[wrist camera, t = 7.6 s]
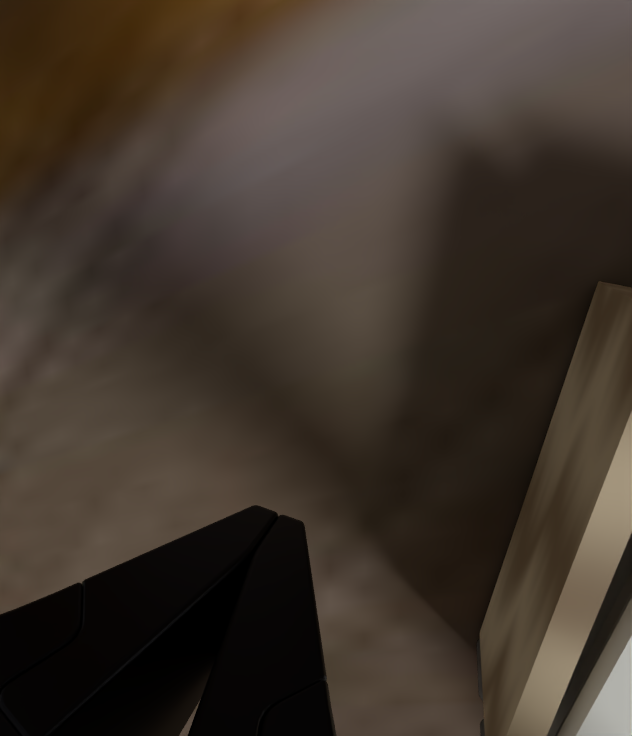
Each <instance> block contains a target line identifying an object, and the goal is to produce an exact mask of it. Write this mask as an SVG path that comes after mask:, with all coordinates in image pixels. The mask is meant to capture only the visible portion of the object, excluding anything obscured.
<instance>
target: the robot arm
mask: <svg viewBox="0 0 632 736" xmlns="http://www.w3.org/2000/svg"><path fill="white" fill-rule="evenodd" d="M326 679H327V677H326V670H325V663H324V656H323V649H322V642H321V636H320V629H319V622H318V615H317V608H316V601H315V594H314V587H313V580H312V573H311V567H310V560H309V553H308V546H307V539H306V532H305V526H304V523H303V522H302V521H300V520H297V519H294V518H291V517H288V516H286V515H280V516H278V514H277V513H276V512H274V511H272V510H269V509H266V508H263V507H261V506H258V505H254V506H251V507H249V508H246V509H244V510H242V511H240V512H237V513H235V514H233V515H231V516H228V517H226V518H224V519H222V520H219V521H217V522H215V523H212V524H210V525H208V526H206V527H203V528H201V529H199V530H197V531H194V532H192V533H190V534H188V535H185V536H183V537H181V538H178V539H176V540H174V541H172V542H169V543H167V544H165V545H163V546H160V547H158V548H156V549H153V550H151V551H149V552H147V553H144V554H142V555H140V556H138V557H135V558H133V559H131V560H129V561H126V562H124V563H122V564H119V565H117V566H115V567H113V568H110V569H108V570H106V571H104V572H101V573H99V574H97V575H94V576H92V577H90V578H88V579H85V580H84V581H83V582H82V584H81V583H76V584H74V585H71V586H69V587H67V588H64V589H62V590H60V591H58V592H55V593H53V594H51V595H48V596H46V597H43V598H41V599H38V600H36V601H34V602H31V603H29V604H26V605H24V606H21V607H19V608H17V609H14V610H11V611H8V612H6V613H3V614H0V736H179V735H180V733H181V731H182V729H183V728H184V726H185V724H186V723H187V721H188V719H189V718H190V716H191V714H192V713H193V711H194V709H195V707H196V706H197V704H198V702H199V701H200V703H199V706H198V708H197V711H196V714H195V717H194V720H193V722H192V725H191V728H190V731H189V734H188V736H336V731H335V725H334V720H333V714H332V709H331V702H330V696H329V689H328V684H327V682H326ZM200 699H201V700H200Z"/></svg>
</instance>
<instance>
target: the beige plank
mask: <svg viewBox="0 0 632 736" xmlns="http://www.w3.org/2000/svg"><path fill="white" fill-rule="evenodd" d="M631 533H632V288H631V287H626V286H621V285H616V284H611V283H606V282H601V281H598V284H597V287H596V290H595V293H594V296H593V299H592V302H591V304H590V307H589V310H588V313H587V316H586V319H585V322H584V325H583V328H582V331H581V334H580V337H579V340H578V343H577V346H576V349H575V352H574V355H573V358H572V361H571V364H570V367H569V370H568V373H567V376H566V378H565V381H564V384H563V387H562V390H561V393H560V396H559V399H558V402H557V405H556V408H555V411H554V414H553V417H552V420H551V423H550V426H549V429H548V432H547V435H546V438H545V441H544V444H543V447H542V449H541V452H540V455H539V458H538V461H537V464H536V467H535V470H534V473H533V476H532V479H531V482H530V485H529V488H528V491H527V494H526V497H525V500H524V503H523V506H522V509H521V512H520V515H519V518H518V520H517V523H516V526H515V529H514V532H513V535H512V538H511V541H510V544H509V547H508V550H507V553H506V556H505V559H504V562H503V565H502V568H501V571H500V574H499V577H498V580H497V583H496V586H495V589H494V592H493V594H492V597H491V600H490V603H489V606H488V609H487V612H486V615H485V618H484V621H483V624H482V627H481V630H480V639H479V640H478V641H477V665H478V688H479V696H480V698H481V699H482V701H483V709H484V719H483V720H482V721H481V723H480V733H481V736H547V734H548V732H549V729H550V727H551V725H552V722H553V720H554V717H555V715H556V713H557V710H558V708H559V705H560V703H561V701H562V698H563V696H564V693H565V691H566V689H567V686H568V684H569V681H570V679H571V677H572V674H573V672H574V669H575V667H576V665H577V662H578V660H579V657H580V655H581V653H582V650H583V648H584V645H585V643H586V641H587V638H588V636H589V633H590V631H591V629H592V626H593V624H594V622H595V619H596V617H597V614H598V612H599V610H600V607H601V605H602V602H603V600H604V598H605V595H606V593H607V590H608V588H609V586H610V583H611V581H612V578H613V576H614V574H615V571H616V569H617V566H618V564H619V562H620V559H621V557H622V554H623V552H624V550H625V547H626V545H627V542H628V540H629V538H630V535H631Z"/></svg>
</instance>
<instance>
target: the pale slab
mask: <svg viewBox="0 0 632 736" xmlns="http://www.w3.org/2000/svg"><path fill="white" fill-rule="evenodd" d="M547 736H632V533H631V535H630V538H629V540H628V542H627V545H626V547H625V550H624V552H623V554H622V557H621V559H620V562H619V564H618V566H617V569H616V571H615V574H614V576H613V578H612V581H611V583H610V586H609V588H608V590H607V593H606V595H605V598H604V600H603V602H602V605H601V607H600V610H599V612H598V614H597V617H596V619H595V622H594V624H593V626H592V629H591V631H590V633H589V636H588V638H587V641H586V643H585V645H584V648H583V650H582V653H581V655H580V657H579V660H578V662H577V665H576V667H575V669H574V672H573V674H572V677H571V679H570V681H569V684H568V686H567V689H566V691H565V693H564V696H563V698H562V701H561V703H560V705H559V708H558V710H557V713H556V715H555V717H554V720H553V722H552V725H551V727H550V729H549V732H548V734H547Z"/></svg>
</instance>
